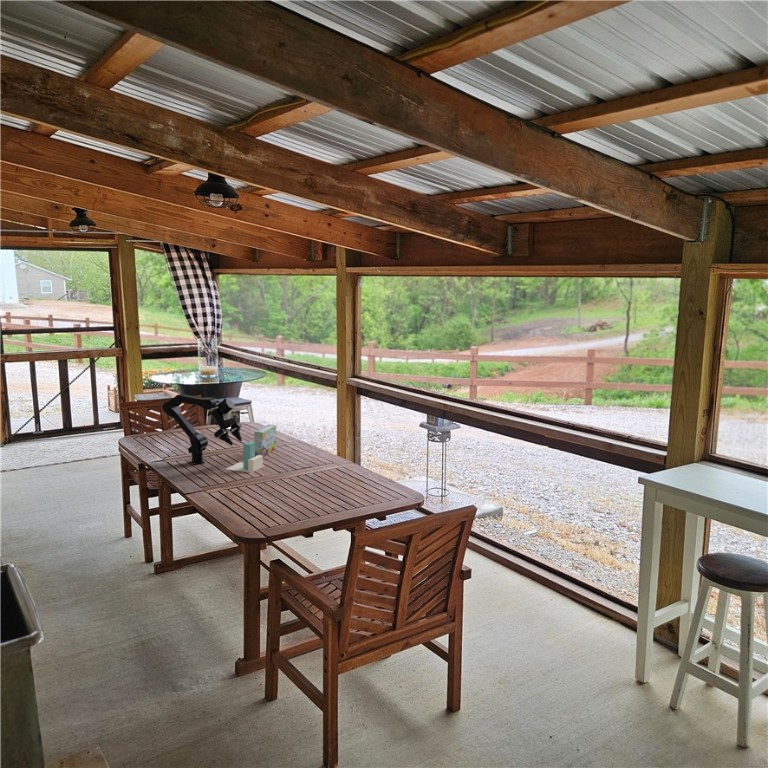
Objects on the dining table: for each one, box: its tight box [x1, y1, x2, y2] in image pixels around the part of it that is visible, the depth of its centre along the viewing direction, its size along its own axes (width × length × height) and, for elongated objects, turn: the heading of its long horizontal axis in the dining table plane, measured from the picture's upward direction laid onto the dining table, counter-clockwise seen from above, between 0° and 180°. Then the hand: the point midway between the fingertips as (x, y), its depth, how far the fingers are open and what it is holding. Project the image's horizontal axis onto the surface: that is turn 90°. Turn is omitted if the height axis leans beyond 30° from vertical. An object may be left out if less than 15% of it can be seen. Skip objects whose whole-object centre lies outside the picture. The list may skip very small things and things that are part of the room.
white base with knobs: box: [225, 455, 265, 474], centre depth 334 cm, size 15×14×7 cm
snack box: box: [253, 424, 277, 458], centre depth 366 cm, size 21×6×15 cm, turn 168°
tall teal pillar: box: [242, 441, 255, 469], centre depth 333 cm, size 4×5×13 cm
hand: (236, 442), depth 335 cm, fingers open, 9 cm apart
